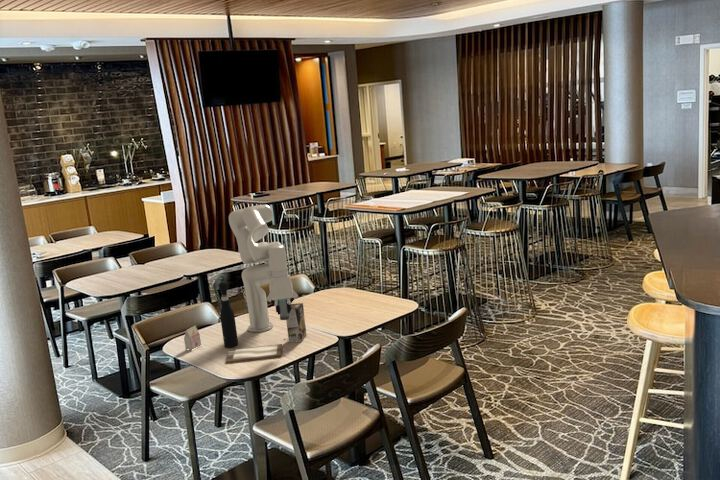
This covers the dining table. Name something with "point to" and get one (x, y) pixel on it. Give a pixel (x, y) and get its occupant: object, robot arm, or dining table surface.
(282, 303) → the marker
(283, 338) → the dining table surface
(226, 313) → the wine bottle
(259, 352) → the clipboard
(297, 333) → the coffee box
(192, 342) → the red and white box
